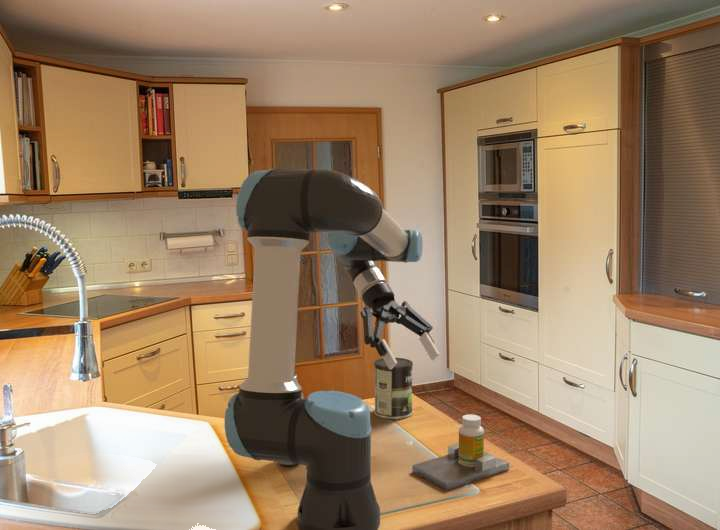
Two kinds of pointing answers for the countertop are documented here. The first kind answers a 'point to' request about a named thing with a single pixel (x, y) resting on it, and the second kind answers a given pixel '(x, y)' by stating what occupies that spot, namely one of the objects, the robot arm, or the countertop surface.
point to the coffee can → (393, 389)
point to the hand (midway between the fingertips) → (415, 361)
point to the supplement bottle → (471, 439)
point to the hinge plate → (458, 469)
